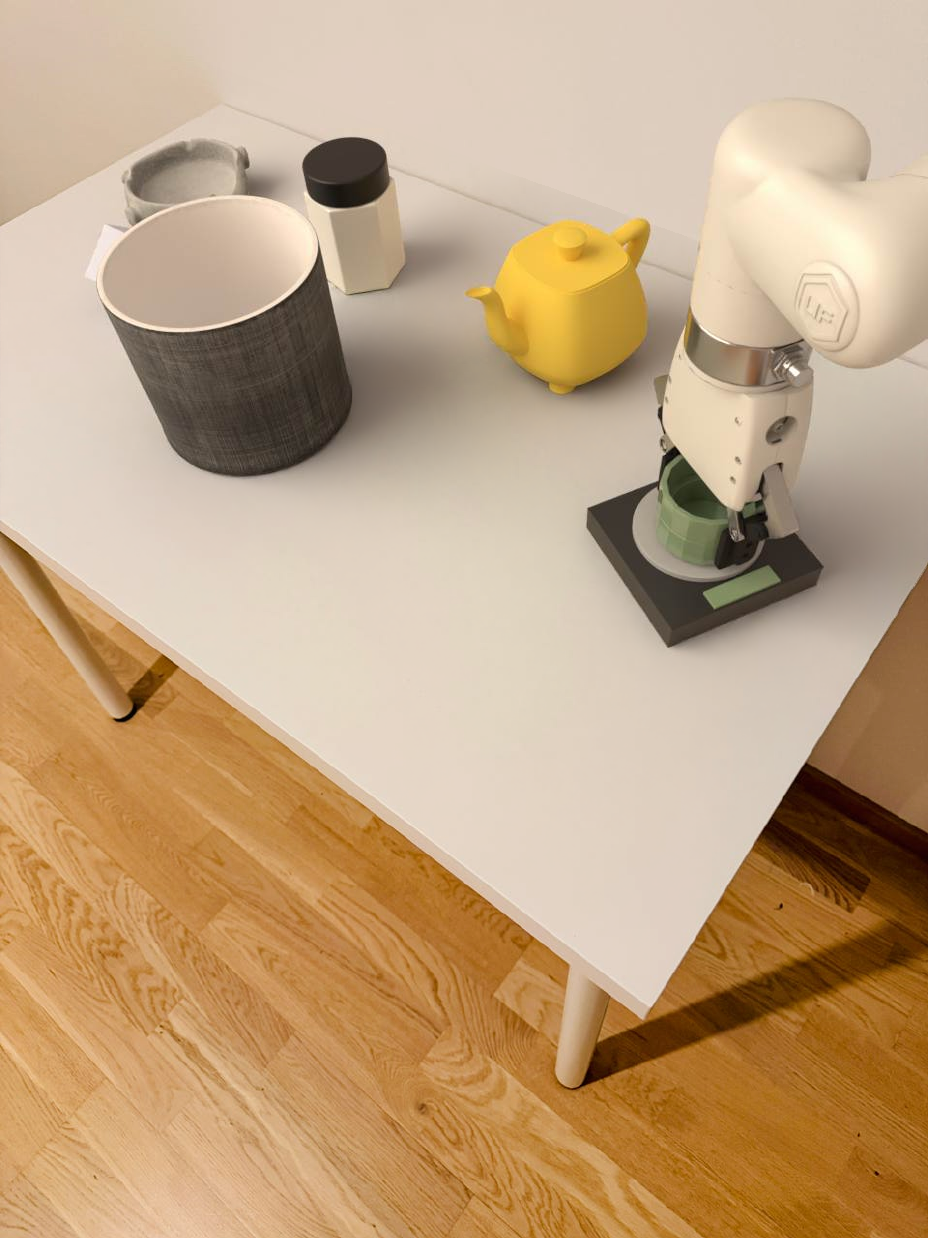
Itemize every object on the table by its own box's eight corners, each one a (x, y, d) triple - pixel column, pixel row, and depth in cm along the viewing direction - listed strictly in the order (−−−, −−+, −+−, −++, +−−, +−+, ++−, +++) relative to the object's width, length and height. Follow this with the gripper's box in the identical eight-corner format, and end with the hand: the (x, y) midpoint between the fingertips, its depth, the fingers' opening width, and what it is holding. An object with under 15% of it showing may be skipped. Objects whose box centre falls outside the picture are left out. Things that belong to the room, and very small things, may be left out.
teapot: (434, 367, 86) (419, 251, 76) (594, 280, 92) (600, 161, 82) (521, 445, 80) (518, 330, 69) (687, 346, 85) (707, 226, 75)
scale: (816, 585, 69) (826, 561, 67) (667, 647, 67) (672, 625, 65) (723, 473, 76) (729, 448, 74) (585, 526, 74) (587, 502, 72)
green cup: (770, 547, 68) (786, 501, 64) (685, 582, 67) (695, 537, 62) (717, 482, 72) (729, 435, 68) (636, 514, 71) (642, 468, 66)
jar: (401, 240, 98) (385, 129, 88) (410, 286, 93) (395, 174, 83) (319, 253, 98) (294, 143, 88) (325, 299, 93) (299, 189, 83)
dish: (258, 172, 108) (247, 130, 103) (249, 242, 100) (236, 199, 96) (138, 184, 108) (122, 143, 104) (120, 254, 100) (102, 212, 96)
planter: (386, 424, 82) (357, 273, 69) (205, 507, 78) (138, 364, 65) (304, 321, 91) (265, 170, 78) (139, 391, 87) (68, 244, 74)
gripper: (897, 402, 50) (815, 588, 65) (723, 236, 59) (686, 433, 74) (780, 447, 49) (724, 627, 63) (622, 271, 58) (605, 463, 73)
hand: (704, 521), depth 68 cm, fingers closed on green cup, 7 cm apart
